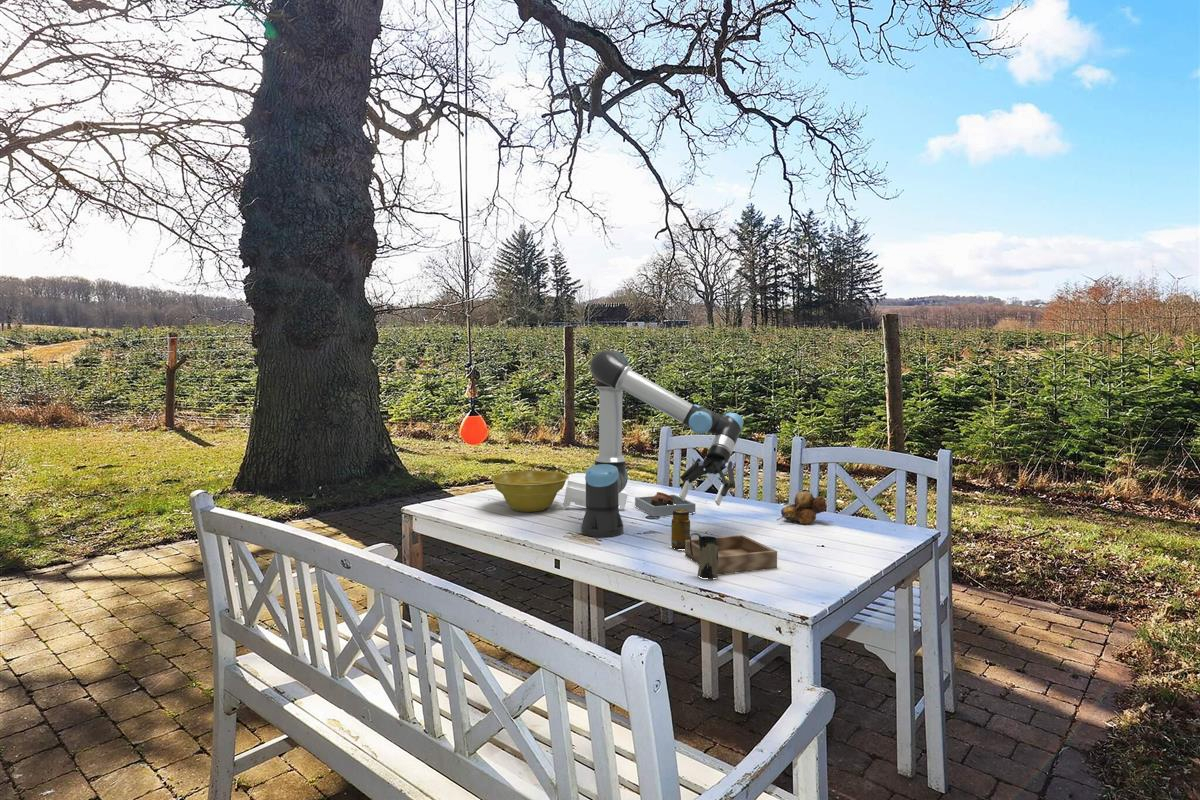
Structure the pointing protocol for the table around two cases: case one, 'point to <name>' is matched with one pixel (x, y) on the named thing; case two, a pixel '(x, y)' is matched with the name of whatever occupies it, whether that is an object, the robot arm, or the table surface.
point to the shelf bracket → (578, 495)
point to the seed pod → (804, 508)
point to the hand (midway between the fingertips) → (698, 500)
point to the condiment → (680, 529)
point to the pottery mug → (661, 499)
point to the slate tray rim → (646, 506)
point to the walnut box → (737, 554)
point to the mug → (707, 556)
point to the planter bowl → (529, 488)
